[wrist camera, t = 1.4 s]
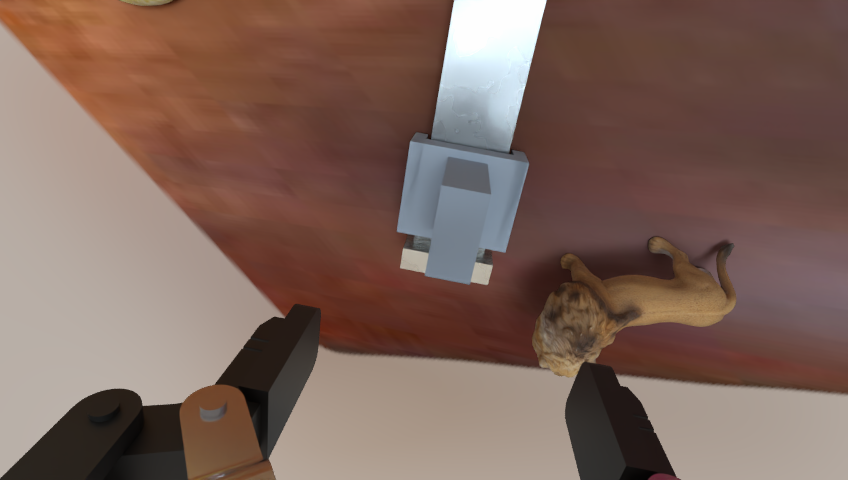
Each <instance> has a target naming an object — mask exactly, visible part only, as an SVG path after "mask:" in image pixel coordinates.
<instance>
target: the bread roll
mask: <svg viewBox="0 0 848 480" xmlns="http://www.w3.org/2000/svg"><path fill="white" fill-rule="evenodd" d="M120 1H123V2H126V3H130V4H134V5H141V6H147V5H148V6H150V5H163V4H165V3H168V2H171V1H173V0H120Z"/></svg>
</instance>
